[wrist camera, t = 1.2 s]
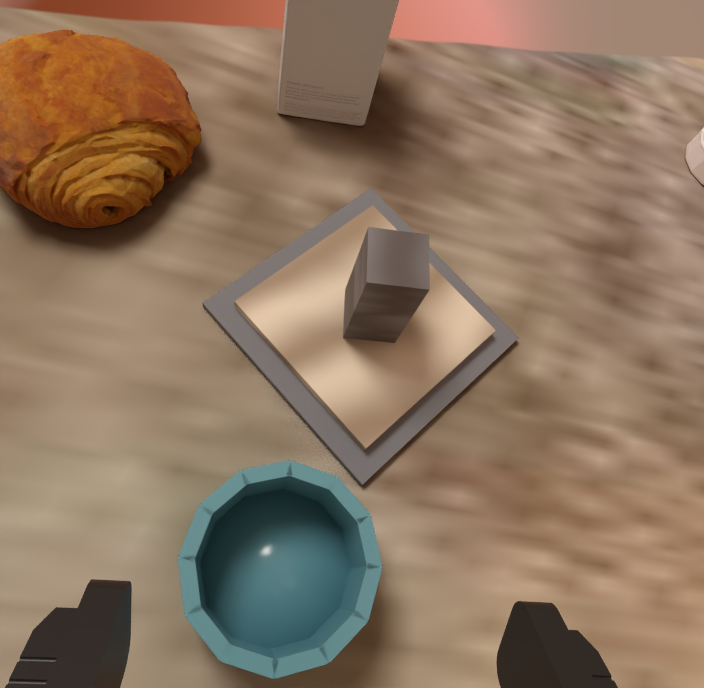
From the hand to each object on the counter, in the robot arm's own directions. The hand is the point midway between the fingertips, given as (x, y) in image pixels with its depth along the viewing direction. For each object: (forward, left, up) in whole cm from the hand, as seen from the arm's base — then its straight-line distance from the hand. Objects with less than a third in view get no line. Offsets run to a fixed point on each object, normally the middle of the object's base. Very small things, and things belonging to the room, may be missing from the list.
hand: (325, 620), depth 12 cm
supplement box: (-27, +28, -24) cm, 46 cm away
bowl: (-1, +1, -24) cm, 24 cm away
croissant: (-32, +10, -24) cm, 42 cm away
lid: (-9, +16, -23) cm, 30 cm away
